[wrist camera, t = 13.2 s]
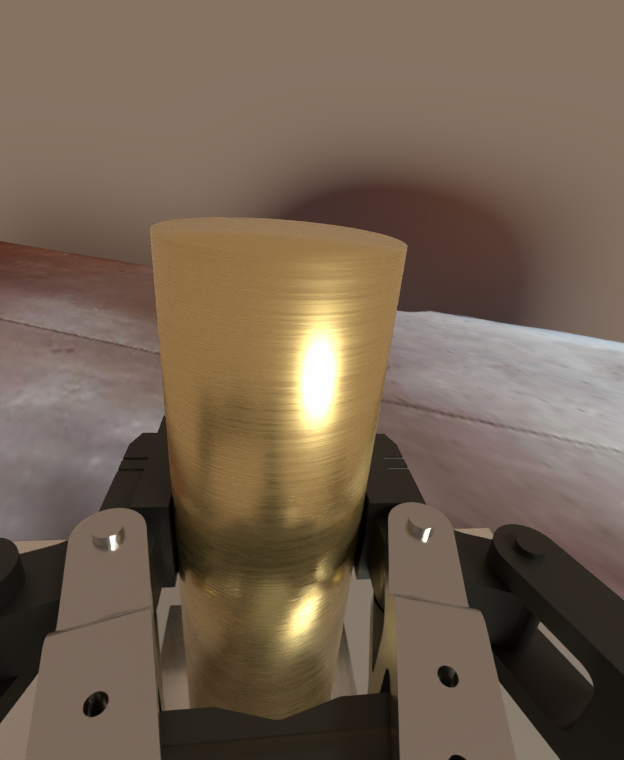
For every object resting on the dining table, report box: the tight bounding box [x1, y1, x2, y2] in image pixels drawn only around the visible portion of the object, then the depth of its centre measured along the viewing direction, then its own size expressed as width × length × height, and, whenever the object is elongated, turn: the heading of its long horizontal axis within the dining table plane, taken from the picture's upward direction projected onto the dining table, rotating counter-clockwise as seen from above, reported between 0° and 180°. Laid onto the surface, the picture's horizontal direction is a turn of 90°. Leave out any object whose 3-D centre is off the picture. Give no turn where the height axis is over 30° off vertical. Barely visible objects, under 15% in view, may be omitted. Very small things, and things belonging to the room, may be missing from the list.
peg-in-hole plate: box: [0, 528, 594, 760], centre depth 13 cm, size 36×16×2 cm, turn 97°
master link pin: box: [150, 217, 407, 720], centre depth 10 cm, size 4×4×14 cm
